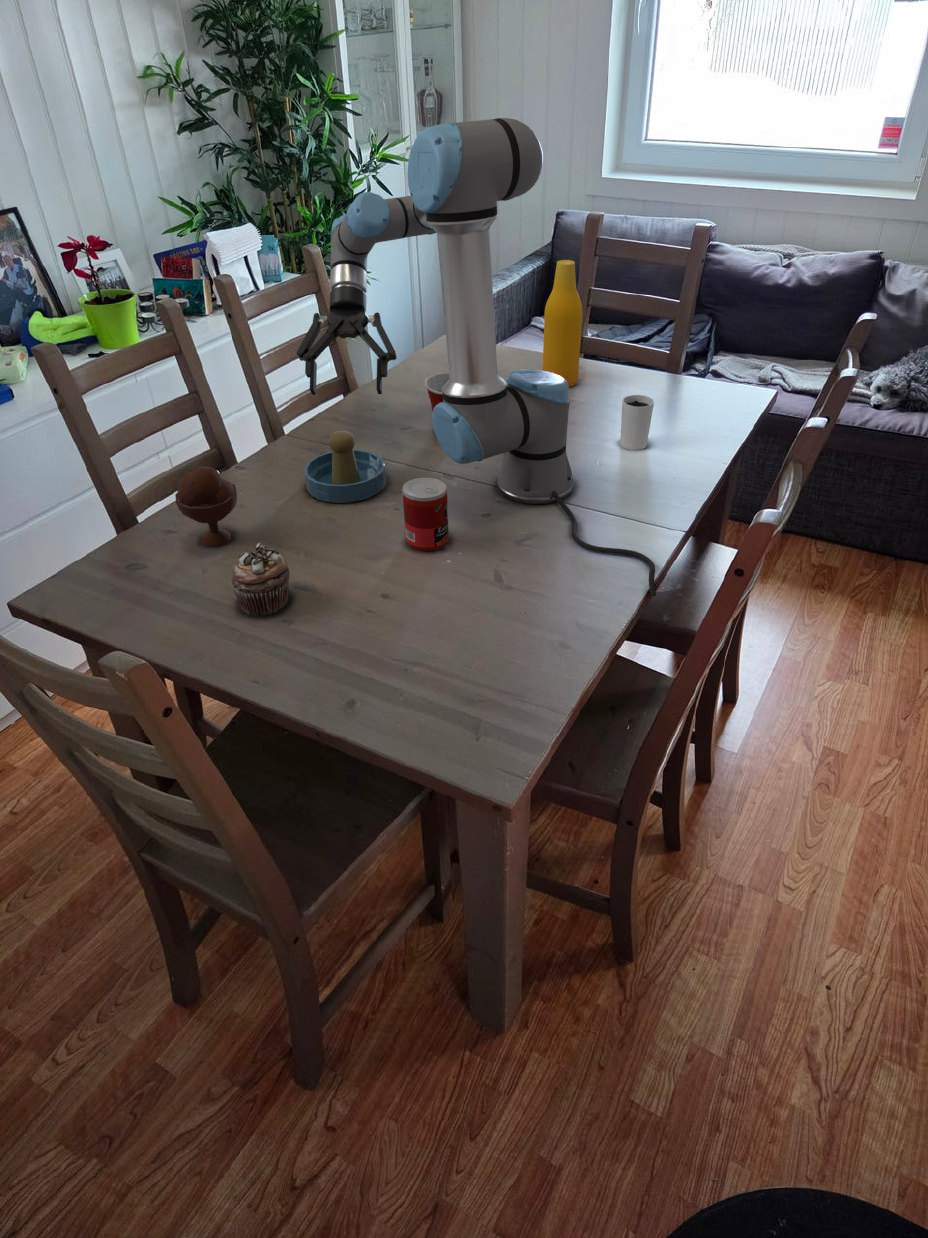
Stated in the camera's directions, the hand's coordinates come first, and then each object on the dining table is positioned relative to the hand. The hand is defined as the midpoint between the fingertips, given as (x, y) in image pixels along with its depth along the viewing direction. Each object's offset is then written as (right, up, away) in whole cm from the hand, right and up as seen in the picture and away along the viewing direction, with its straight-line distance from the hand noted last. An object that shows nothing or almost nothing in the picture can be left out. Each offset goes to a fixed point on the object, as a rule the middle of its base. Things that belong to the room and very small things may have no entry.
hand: (345, 392), depth 171 cm
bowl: (0, -19, +1) cm, 19 cm away
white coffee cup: (+61, -8, +14) cm, 63 cm away
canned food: (+17, -32, -17) cm, 40 cm away
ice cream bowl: (-22, -32, -15) cm, 41 cm away
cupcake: (-9, -44, -31) cm, 54 cm away
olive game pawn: (0, -19, +1) cm, 19 cm away
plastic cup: (+21, -4, +21) cm, 30 cm away
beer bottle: (+49, +14, +44) cm, 67 cm away
